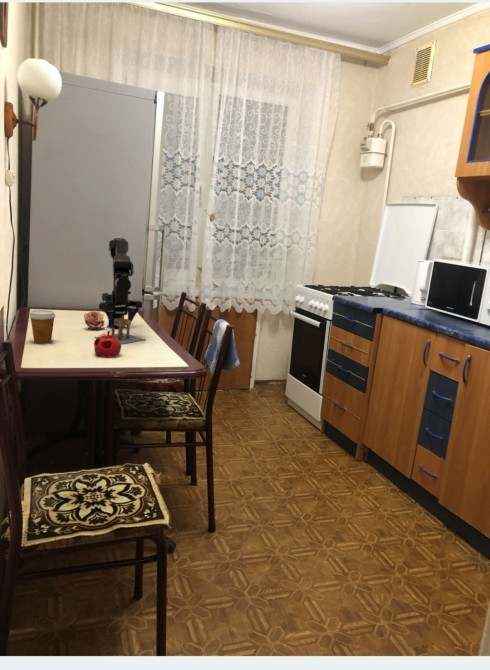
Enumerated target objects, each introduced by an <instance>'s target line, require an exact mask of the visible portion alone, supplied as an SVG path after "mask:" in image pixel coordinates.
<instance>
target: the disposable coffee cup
mask: <svg viewBox="0 0 490 670" xmlns="http://www.w3.org/2000/svg"><path fill="white" fill-rule="evenodd" d="M29 318H30V323H31V328H32V329H31V330H32V335H33V336H32V337H33V342H34V343H35V344H39V345H45V344H50V343H51V342H52V338H53V330H54V322H55V318H56V314H55V311H53V310H47V309H46V310H45V309H43V310H42V309H39V310H37V309H36V310H32V311H30V313H29Z"/></svg>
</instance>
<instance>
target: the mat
mask: <svg viewBox="0 0 490 670" xmlns="http://www.w3.org/2000/svg"><path fill="white" fill-rule="evenodd" d="M105 335H106V336H107V334H105ZM109 336H111V334H109ZM98 337H100V336H99V335H98V336H94V339H95V340H96V339H97V338H98ZM126 337H127V333H125V332H123V337H121V340H118V341H119V342H120V343H121V345H127V344H131V343H132V344H133V343H138V342H144V341H146V339H145V338H143V337H139V336H135V335H132V334H129V339H126ZM114 338H116V339H118V333H114Z"/></svg>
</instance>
